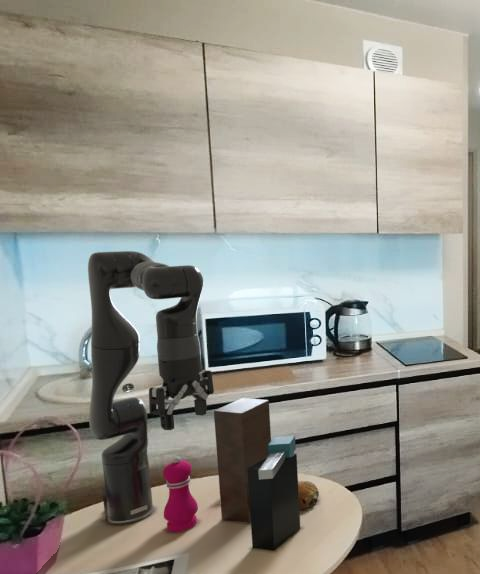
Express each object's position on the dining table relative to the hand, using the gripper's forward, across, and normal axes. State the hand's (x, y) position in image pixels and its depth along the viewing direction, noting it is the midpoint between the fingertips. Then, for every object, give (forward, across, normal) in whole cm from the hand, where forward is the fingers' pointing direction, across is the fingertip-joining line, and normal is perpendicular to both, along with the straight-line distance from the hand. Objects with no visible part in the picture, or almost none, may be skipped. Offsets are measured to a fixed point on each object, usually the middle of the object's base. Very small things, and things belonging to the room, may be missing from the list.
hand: (185, 421), depth 132 cm
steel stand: (+38, -15, +9) cm, 42 cm away
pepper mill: (+38, -16, -19) cm, 46 cm away
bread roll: (+38, -32, +4) cm, 50 cm away
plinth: (+38, -25, -7) cm, 46 cm away
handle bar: (+16, -14, +11) cm, 24 cm away
